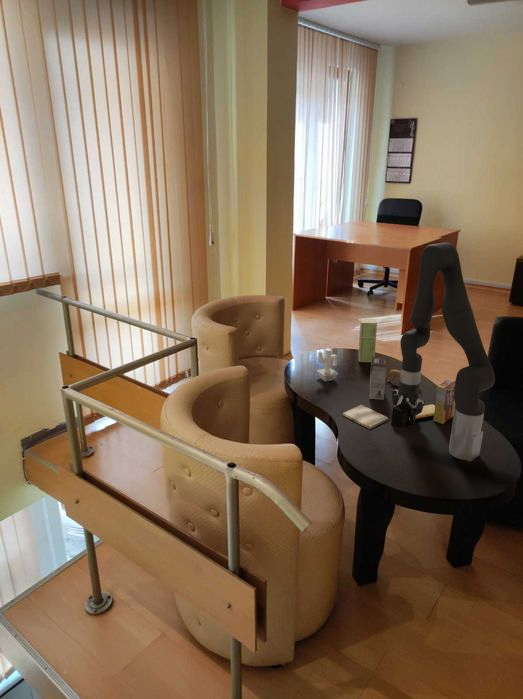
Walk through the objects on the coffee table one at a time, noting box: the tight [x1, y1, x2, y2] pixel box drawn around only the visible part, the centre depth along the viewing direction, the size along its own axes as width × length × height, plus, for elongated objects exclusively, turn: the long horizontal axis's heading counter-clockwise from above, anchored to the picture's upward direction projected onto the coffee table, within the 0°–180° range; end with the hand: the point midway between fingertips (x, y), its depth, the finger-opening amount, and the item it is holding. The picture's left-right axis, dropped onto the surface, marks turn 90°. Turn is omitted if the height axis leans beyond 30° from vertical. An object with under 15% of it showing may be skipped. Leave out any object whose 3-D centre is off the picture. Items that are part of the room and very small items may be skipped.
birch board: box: [342, 404, 389, 430], centre depth 199 cm, size 14×11×1 cm
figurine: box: [316, 347, 339, 383], centre depth 230 cm, size 7×9×15 cm
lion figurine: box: [386, 369, 401, 386], centre depth 226 cm, size 15×5×9 cm, turn 79°
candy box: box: [433, 378, 456, 425], centre depth 195 cm, size 9×4×15 cm, turn 133°
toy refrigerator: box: [357, 317, 378, 363], centre depth 249 cm, size 8×7×21 cm
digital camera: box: [390, 403, 417, 428], centre depth 195 cm, size 10×5×7 cm, turn 134°
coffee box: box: [368, 356, 388, 401], centre depth 215 cm, size 9×6×16 cm
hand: (405, 418), depth 196 cm, fingers closed on digital camera, 5 cm apart
